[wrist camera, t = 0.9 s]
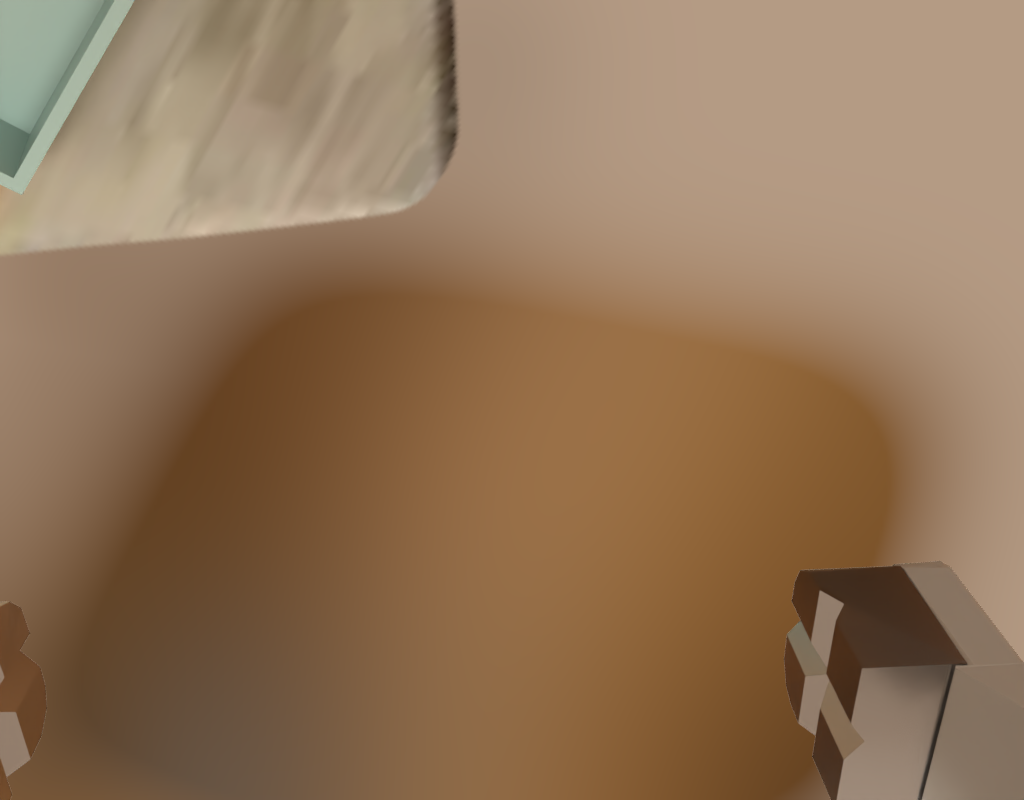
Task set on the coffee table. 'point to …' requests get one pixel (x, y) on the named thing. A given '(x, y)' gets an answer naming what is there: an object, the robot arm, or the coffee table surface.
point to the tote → (46, 73)
